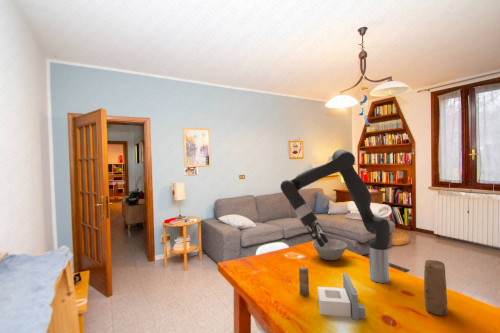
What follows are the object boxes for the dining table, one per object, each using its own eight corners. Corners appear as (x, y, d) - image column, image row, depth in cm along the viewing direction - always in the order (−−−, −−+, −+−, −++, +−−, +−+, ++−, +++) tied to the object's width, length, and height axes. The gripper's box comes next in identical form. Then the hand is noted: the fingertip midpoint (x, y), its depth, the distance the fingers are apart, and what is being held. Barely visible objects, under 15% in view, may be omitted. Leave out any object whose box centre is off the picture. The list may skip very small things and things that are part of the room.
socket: (318, 299, 113) (317, 286, 113) (345, 301, 111) (344, 288, 111) (320, 315, 101) (320, 300, 101) (350, 317, 99) (350, 302, 99)
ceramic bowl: (342, 252, 172) (341, 238, 172) (352, 265, 149) (352, 249, 149) (310, 252, 174) (309, 238, 174) (315, 265, 151) (315, 249, 152)
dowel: (299, 290, 121) (298, 266, 121) (308, 291, 120) (308, 267, 120) (299, 295, 116) (299, 270, 116) (309, 296, 116) (308, 270, 116)
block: (447, 319, 95) (446, 268, 95) (424, 312, 100) (422, 264, 100) (447, 306, 104) (445, 260, 104) (425, 301, 109) (424, 256, 109)
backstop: (343, 293, 117) (342, 273, 117) (354, 294, 116) (353, 273, 116) (352, 319, 97) (352, 294, 97) (366, 320, 96) (365, 295, 96)
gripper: (307, 212, 114) (328, 243, 109) (315, 209, 126) (334, 237, 121) (295, 220, 117) (314, 251, 111) (303, 217, 129) (321, 244, 124)
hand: (325, 244), depth 116 cm, fingers open, 8 cm apart
